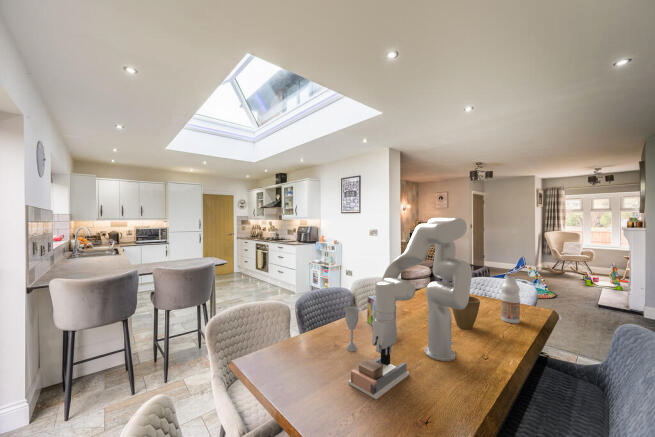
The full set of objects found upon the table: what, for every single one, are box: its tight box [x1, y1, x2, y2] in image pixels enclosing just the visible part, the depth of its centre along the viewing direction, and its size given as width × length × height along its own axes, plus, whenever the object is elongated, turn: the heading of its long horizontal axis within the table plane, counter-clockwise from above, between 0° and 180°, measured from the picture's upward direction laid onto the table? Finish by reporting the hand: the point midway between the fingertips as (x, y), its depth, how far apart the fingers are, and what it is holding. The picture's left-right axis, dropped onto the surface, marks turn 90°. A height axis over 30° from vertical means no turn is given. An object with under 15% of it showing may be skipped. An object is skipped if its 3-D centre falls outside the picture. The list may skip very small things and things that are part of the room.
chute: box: [347, 356, 410, 400], centre depth 101 cm, size 21×12×5 cm, turn 134°
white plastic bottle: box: [500, 272, 521, 324], centre depth 163 cm, size 9×9×28 cm
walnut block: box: [358, 358, 383, 380], centre depth 97 cm, size 6×6×6 cm
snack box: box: [366, 295, 376, 327], centre depth 150 cm, size 21×6×15 cm, turn 22°
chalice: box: [344, 306, 361, 352], centre depth 125 cm, size 7×7×18 cm
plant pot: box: [451, 295, 481, 330], centre depth 153 cm, size 15×15×16 cm
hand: (385, 363), depth 104 cm, fingers closed
